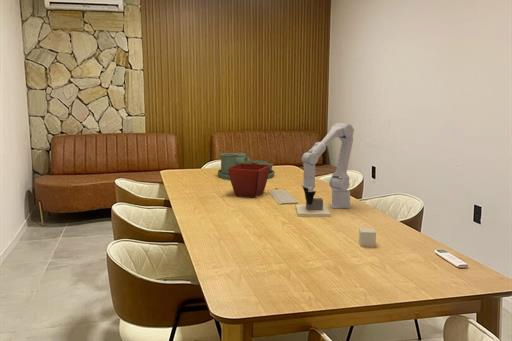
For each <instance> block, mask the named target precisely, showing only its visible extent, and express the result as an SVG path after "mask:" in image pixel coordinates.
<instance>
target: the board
mask: <svg viewBox="0 0 512 341" xmlns="http://www.w3.org/2000/svg"><path fill="white" fill-rule="evenodd" d="M294 205H295V211H296V214H297V217H302V218H303V217H306V218H307V217H308V218H309V217H312V218H313V217H316V218H318V217H321V218H322V217H326V218H327V217H328V218H329V217H331V215H332V214H331V211H330V210H329V208H328V206H327V204H323V210H307V209H306V204H294Z"/></svg>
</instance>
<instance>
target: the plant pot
mask: <svg viewBox="0 0 512 341" xmlns="http://www.w3.org/2000/svg"><path fill="white" fill-rule="evenodd" d="M269 168H270V165H263V164H252V163H251V164H246V163H240V164H237V165H235V166H232V167H230V168H228V171H229V176H230V180H229V181H230V184H231V186H232V190H233V192H234V194H235V197H244V198H245V197H246V198H257V197H258V196H259V197H260V195H262V194H264V191H265V189H266V186H267V182H268V180H269V179H268V174H269Z"/></svg>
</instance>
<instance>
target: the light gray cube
mask: <svg viewBox="0 0 512 341" xmlns="http://www.w3.org/2000/svg"><path fill="white" fill-rule="evenodd" d="M358 230H359V231H358V244H359V246H360V247H372V248H373V247H375V248H376V245H377V243H376V241H377V231H376V229H375V228H373V227H359V228H358Z"/></svg>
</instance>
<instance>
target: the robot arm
mask: <svg viewBox="0 0 512 341" xmlns="http://www.w3.org/2000/svg"><path fill="white" fill-rule="evenodd" d="M354 133H355V129H354V127H353V125H352V124H350V123H343V122H342V123H341V122H335V123H334V124H333V125H332V126H331V127H330V130H329V132H328V133H327V134H326V135H325V136H324V137H323V139H322V140H321V141H317V142H315V143H314V145H313V146H312V147H311V148H310V149H309V150H308V151H306V152H305V153H303V154H302V157H301V158H300V159H301V162H302V166H303V182H302V184H300V186H301V187H302V189H303V191H304V197H305V200H306V199H307V204H308V205H312V201H313V198H315V195H316V193H317V191H316V190H315V191H314V189H315V188H316V164H317V163H318V161H319V158H320V157H321V156H322V154H323V153H324V152H325V151H326V150H327V147H328V145H329V144H330V143H331V142H333V141H334V140H335V139H336V138H338V139H339V140H340V141H341V145H340V150H339V155H338V160H337V164H336V165H337V166H336V169H335V171H334V172H333V173H332V174H331V178H330V179H329V181H328V183H329V184H328V185H329V187H330V189H331V203H329V205H330V207H331V209H350V208H351V191H350V190H349V188H350V176H349V175H348V173H347V171H348V166H349V164H350V163H349V162H350V157H351V154H352V153H351V152H352V148H353V142H354Z"/></svg>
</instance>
